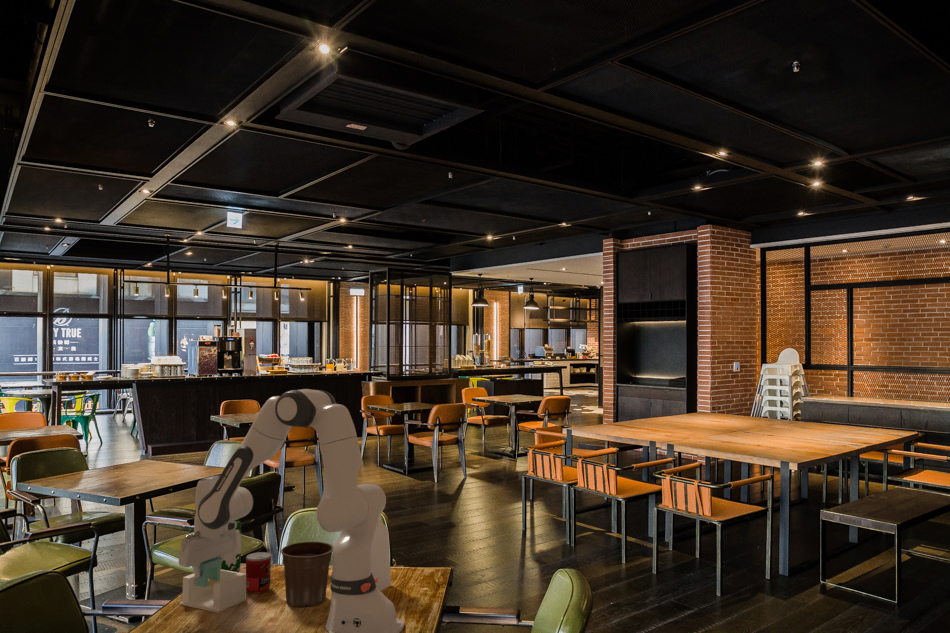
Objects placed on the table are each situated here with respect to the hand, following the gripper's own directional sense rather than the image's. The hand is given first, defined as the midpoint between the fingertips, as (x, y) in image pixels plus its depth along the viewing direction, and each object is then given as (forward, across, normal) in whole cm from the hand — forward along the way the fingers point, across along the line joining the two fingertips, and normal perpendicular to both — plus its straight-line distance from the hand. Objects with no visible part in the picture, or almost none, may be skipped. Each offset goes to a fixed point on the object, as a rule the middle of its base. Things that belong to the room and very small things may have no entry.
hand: (208, 573), depth 199 cm
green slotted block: (+3, 0, 0) cm, 3 cm away
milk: (+10, +32, -37) cm, 50 cm away
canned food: (+10, +16, -5) cm, 20 cm away
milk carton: (+10, +18, +10) cm, 22 cm away
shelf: (+10, +2, 0) cm, 10 cm away
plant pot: (+10, +16, -26) cm, 32 cm away
